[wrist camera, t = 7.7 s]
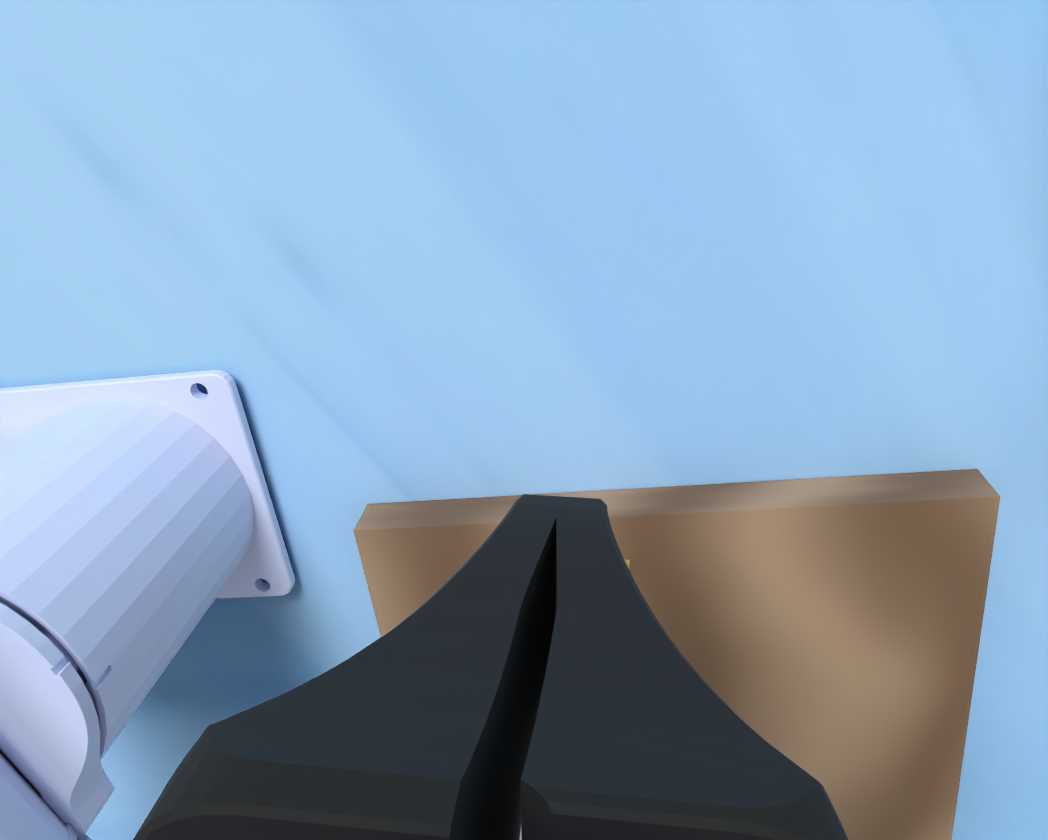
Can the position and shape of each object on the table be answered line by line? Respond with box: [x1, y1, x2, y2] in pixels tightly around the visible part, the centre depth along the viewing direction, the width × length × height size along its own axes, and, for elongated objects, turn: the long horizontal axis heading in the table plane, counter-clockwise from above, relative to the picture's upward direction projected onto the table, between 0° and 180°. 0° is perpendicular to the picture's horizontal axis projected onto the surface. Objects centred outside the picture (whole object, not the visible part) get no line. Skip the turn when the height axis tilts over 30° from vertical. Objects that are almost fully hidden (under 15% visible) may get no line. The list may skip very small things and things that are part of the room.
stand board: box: [354, 469, 1000, 840], centre depth 27 cm, size 18×20×2 cm
